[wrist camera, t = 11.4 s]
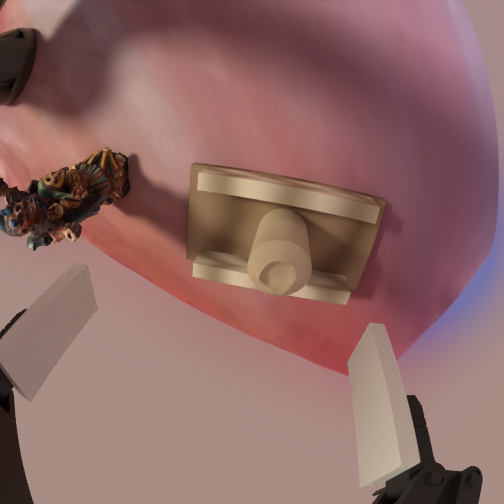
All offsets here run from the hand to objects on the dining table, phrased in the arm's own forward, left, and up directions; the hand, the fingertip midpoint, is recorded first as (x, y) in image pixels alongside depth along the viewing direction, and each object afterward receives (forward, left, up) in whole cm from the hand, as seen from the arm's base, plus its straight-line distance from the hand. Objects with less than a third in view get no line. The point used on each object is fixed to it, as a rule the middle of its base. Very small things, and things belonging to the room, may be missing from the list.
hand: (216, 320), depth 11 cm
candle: (+3, -4, -20) cm, 21 cm away
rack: (+3, -4, -21) cm, 22 cm away
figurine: (-20, 0, -21) cm, 30 cm away
